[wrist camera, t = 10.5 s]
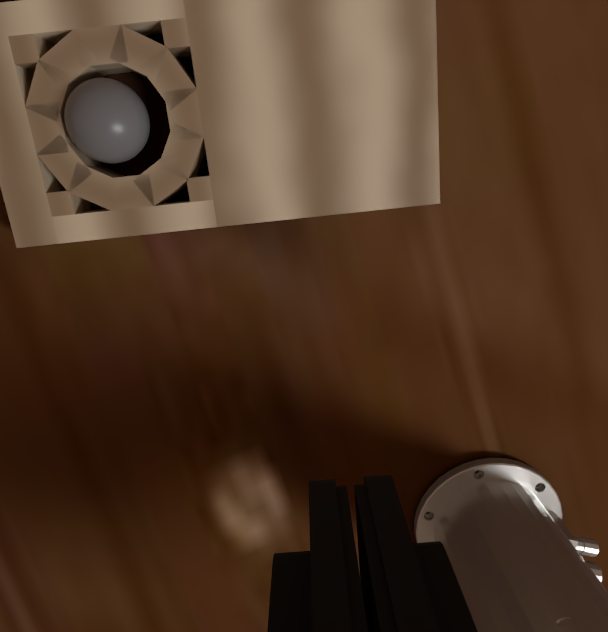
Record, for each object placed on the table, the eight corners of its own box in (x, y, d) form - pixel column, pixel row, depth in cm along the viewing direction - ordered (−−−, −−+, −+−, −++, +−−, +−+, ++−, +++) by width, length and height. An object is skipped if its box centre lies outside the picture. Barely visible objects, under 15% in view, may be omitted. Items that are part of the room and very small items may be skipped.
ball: (47, 91, 28) (45, 103, 32) (99, 176, 30) (89, 177, 34) (129, 56, 29) (116, 72, 33) (172, 140, 31) (155, 145, 35)
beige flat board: (421, -25, 32) (434, -44, 29) (427, 200, 36) (440, 203, 33) (-18, 21, 32) (-48, 7, 29) (38, 241, 36) (16, 248, 33)
